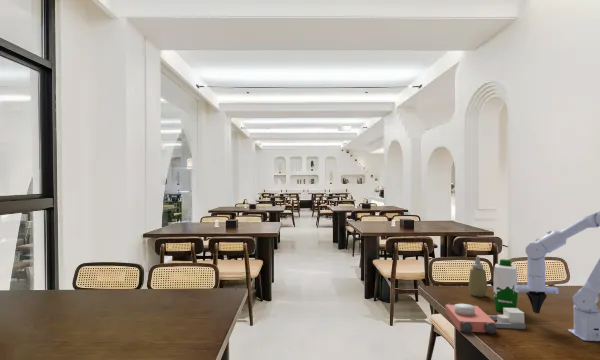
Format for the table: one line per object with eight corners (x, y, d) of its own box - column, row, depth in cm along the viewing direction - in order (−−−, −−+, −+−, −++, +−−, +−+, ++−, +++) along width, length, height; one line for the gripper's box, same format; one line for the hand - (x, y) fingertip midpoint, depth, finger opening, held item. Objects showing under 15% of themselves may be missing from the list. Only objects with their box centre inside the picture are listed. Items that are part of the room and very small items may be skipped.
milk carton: (517, 308, 167) (517, 260, 168) (517, 314, 159) (517, 263, 160) (494, 305, 171) (493, 258, 172) (493, 311, 163) (493, 261, 164)
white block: (524, 327, 145) (524, 313, 145) (502, 326, 145) (502, 312, 146) (517, 321, 151) (517, 308, 151) (495, 320, 151) (495, 307, 152)
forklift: (534, 335, 136) (534, 318, 136) (460, 332, 139) (460, 315, 139) (507, 314, 159) (507, 299, 159) (444, 312, 162) (444, 297, 162)
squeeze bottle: (464, 294, 190) (464, 255, 190) (477, 292, 193) (476, 254, 193) (478, 298, 182) (478, 258, 183) (491, 296, 186) (491, 257, 186)
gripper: (551, 273, 150) (551, 310, 150) (510, 272, 152) (510, 308, 152) (561, 277, 143) (561, 316, 143) (518, 276, 145) (518, 314, 145)
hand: (536, 312), depth 147 cm, fingers closed
